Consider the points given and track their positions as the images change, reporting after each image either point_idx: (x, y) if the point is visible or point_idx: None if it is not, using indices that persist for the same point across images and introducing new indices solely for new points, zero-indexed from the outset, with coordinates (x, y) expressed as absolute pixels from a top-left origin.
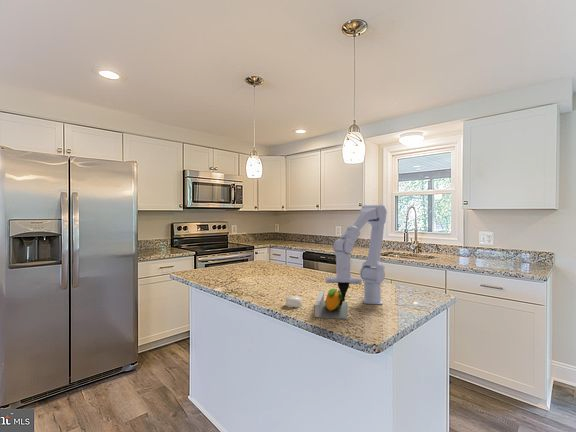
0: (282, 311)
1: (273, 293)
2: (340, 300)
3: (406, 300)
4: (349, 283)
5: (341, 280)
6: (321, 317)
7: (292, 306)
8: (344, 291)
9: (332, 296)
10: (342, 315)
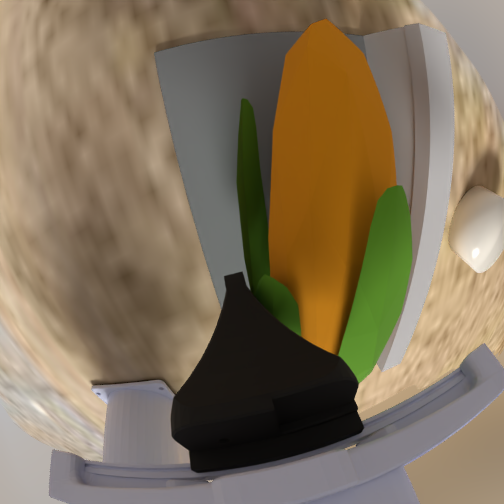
0: (496, 130)
1: (484, 311)
2: None
3: (67, 420)
4: (190, 465)
5: (336, 491)
6: (345, 34)
7: (481, 189)
8: (233, 342)
9: (360, 228)
10: (202, 107)
